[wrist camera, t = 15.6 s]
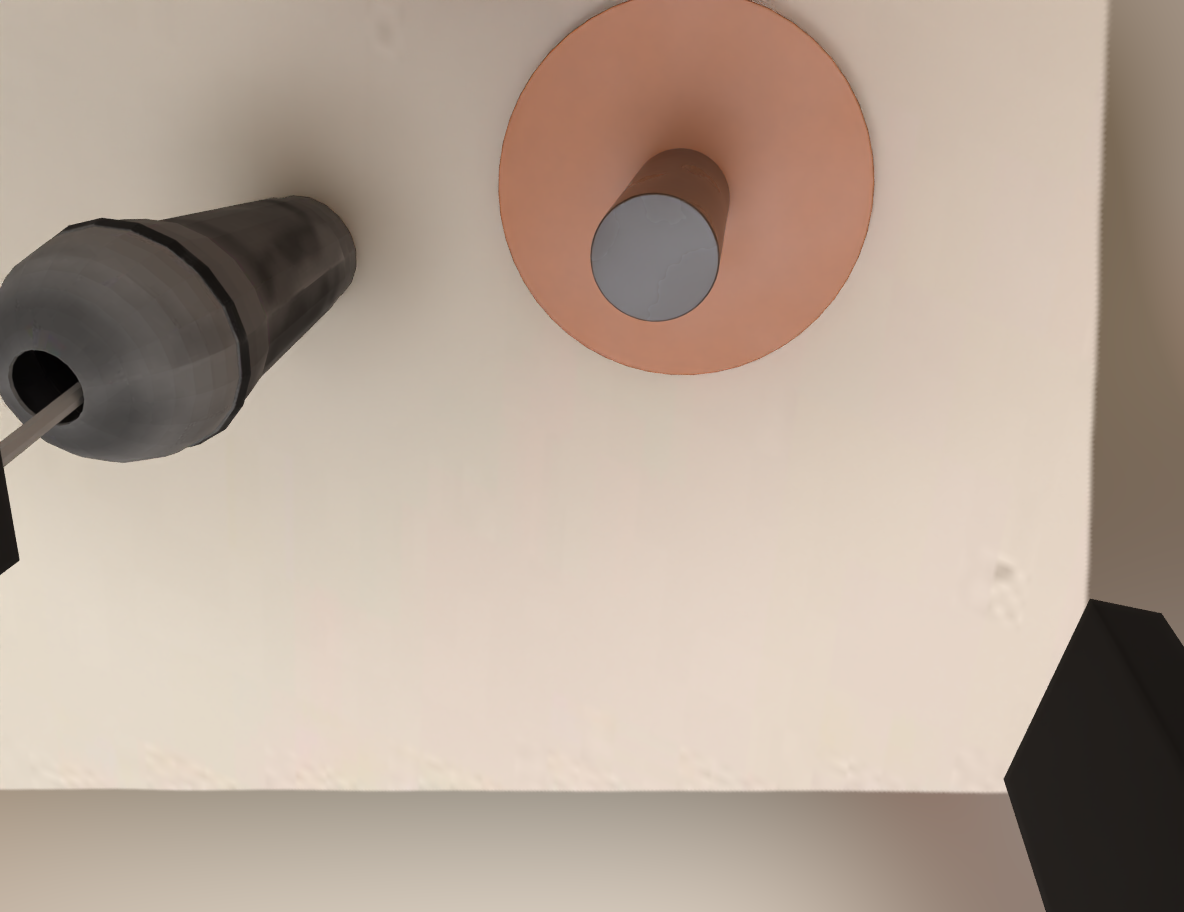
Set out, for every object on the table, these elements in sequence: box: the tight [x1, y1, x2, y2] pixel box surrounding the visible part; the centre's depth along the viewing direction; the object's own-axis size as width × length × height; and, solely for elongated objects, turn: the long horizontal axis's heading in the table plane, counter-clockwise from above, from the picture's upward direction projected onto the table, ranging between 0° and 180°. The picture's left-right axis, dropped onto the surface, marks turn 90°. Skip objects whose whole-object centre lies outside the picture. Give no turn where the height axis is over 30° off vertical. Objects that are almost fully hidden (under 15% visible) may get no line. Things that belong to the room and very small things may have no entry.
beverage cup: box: [0, 196, 356, 467], centre depth 29 cm, size 7×7×20 cm
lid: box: [498, 0, 874, 375], centre depth 30 cm, size 14×14×10 cm
